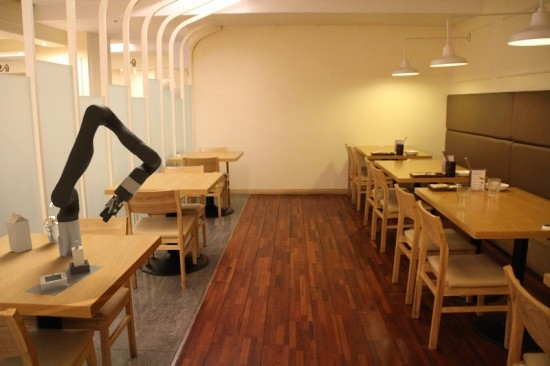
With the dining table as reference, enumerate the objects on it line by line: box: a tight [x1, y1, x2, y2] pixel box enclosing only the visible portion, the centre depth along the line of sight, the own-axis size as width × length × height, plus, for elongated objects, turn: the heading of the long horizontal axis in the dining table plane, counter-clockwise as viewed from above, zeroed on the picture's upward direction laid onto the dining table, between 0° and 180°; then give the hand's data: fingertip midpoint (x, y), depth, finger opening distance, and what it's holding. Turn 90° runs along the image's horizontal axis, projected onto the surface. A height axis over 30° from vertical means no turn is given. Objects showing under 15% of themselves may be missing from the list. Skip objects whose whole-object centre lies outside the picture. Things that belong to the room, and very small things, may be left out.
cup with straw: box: [42, 202, 59, 244], centre depth 220 cm, size 8×9×20 cm
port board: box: [24, 264, 104, 296], centre depth 172 cm, size 14×28×2 cm, turn 165°
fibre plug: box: [72, 241, 85, 267], centre depth 178 cm, size 4×4×13 cm
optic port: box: [39, 271, 69, 292], centre depth 165 cm, size 9×9×3 cm
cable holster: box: [68, 259, 90, 275], centre depth 179 cm, size 7×7×3 cm
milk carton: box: [5, 212, 33, 254], centre depth 209 cm, size 7×7×19 cm
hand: (102, 219), depth 180 cm, fingers open, 8 cm apart
